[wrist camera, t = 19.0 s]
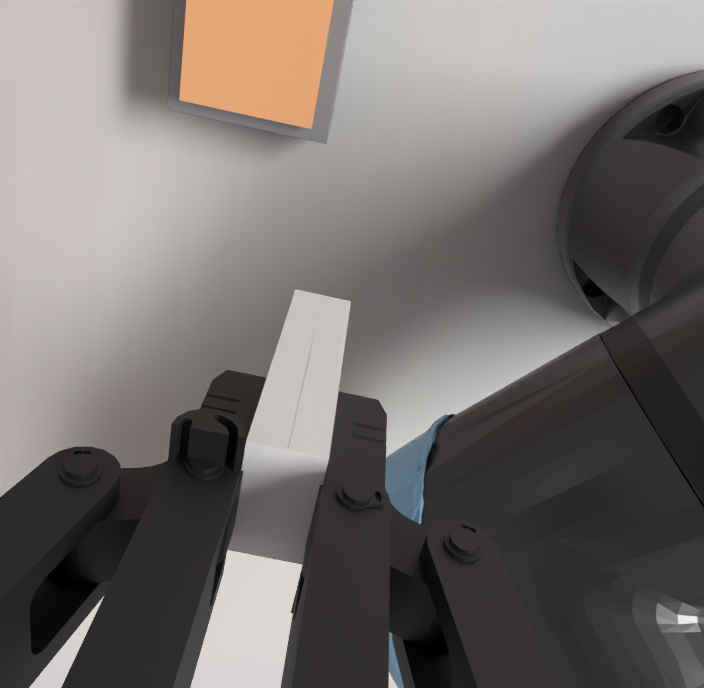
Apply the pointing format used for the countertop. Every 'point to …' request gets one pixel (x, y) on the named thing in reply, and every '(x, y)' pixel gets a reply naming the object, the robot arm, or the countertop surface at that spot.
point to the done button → (256, 56)
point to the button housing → (316, 133)
